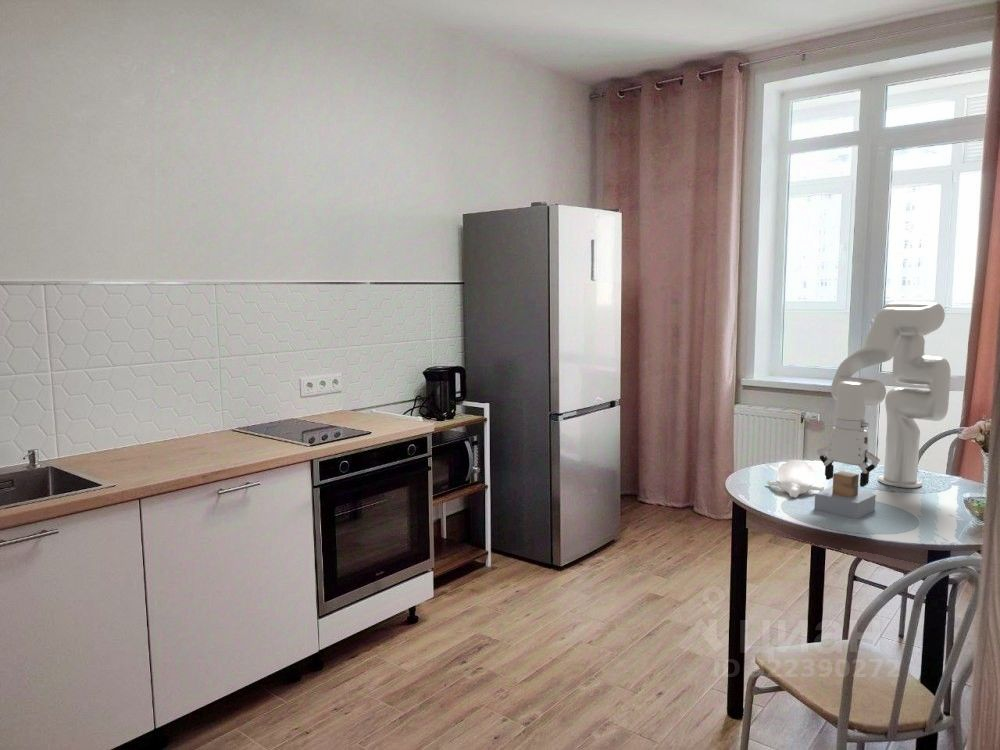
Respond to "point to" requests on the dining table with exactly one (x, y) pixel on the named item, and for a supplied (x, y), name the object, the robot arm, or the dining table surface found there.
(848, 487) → the walnut block
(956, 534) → the dining table surface
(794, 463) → the figurine
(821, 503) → the plinth
